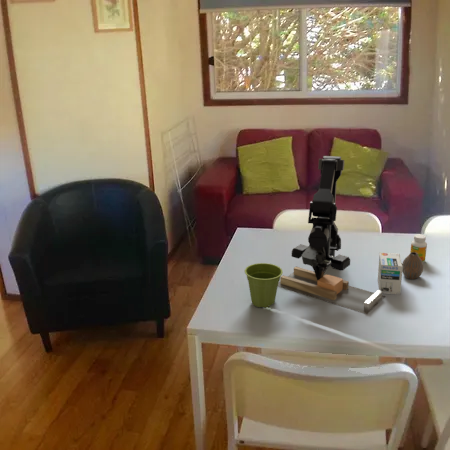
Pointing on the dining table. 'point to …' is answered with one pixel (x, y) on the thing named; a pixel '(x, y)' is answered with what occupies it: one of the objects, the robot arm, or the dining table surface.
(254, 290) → the plant pot
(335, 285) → the orange block
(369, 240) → the dining table surface
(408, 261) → the vase
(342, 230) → the dining table surface
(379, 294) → the stop bar
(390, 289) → the light bulb box
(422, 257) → the supplement bottle
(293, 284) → the chute
